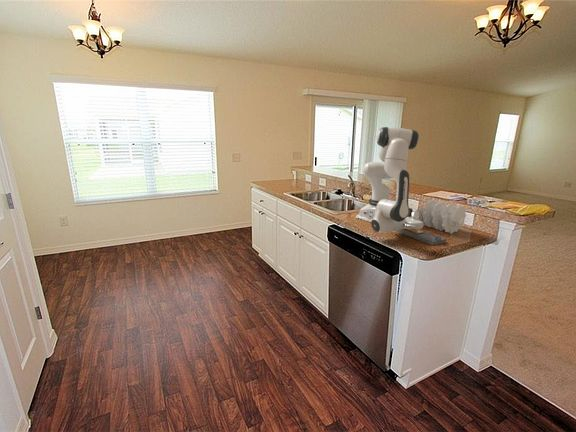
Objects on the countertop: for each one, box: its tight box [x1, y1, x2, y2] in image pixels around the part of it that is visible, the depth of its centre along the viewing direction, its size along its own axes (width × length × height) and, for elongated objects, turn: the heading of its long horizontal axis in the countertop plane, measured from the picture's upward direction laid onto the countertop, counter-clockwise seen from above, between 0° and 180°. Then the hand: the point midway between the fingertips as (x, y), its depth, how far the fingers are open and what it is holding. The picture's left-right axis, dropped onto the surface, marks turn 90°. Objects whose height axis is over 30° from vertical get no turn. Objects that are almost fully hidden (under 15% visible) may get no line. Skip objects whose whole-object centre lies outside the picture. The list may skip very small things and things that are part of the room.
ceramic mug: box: [407, 207, 414, 217], centre depth 204 cm, size 11×8×8 cm
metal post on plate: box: [404, 211, 426, 234], centre depth 168 cm, size 11×5×11 cm, turn 24°
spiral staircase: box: [414, 199, 467, 235], centre depth 177 cm, size 18×18×25 cm
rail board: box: [396, 229, 447, 246], centre depth 166 cm, size 25×10×2 cm, turn 24°
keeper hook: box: [433, 234, 443, 241], centre depth 156 cm, size 3×3×2 cm
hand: (415, 219), depth 169 cm, fingers closed on metal post on plate, 4 cm apart
